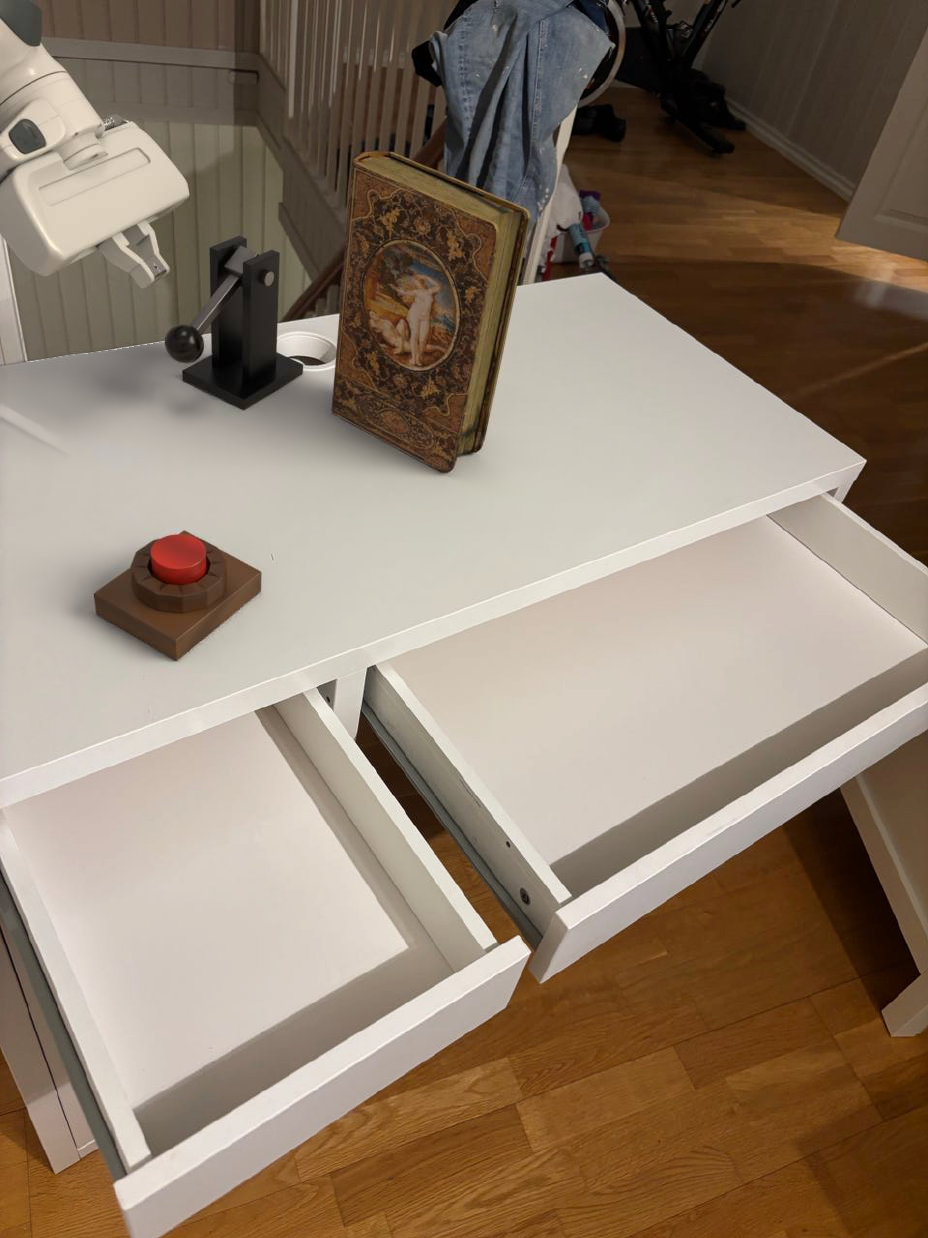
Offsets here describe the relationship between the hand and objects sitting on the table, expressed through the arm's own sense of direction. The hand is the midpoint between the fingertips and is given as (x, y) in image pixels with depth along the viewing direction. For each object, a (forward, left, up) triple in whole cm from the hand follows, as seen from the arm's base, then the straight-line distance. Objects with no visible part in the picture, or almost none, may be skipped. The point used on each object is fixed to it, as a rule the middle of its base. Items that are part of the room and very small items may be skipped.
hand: (157, 280), depth 86 cm
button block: (-21, -21, -12) cm, 32 cm away
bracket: (+9, -3, -12) cm, 16 cm away
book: (+12, -21, -13) cm, 27 cm away
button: (-21, -21, -9) cm, 31 cm away
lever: (+5, -3, -5) cm, 8 cm away
